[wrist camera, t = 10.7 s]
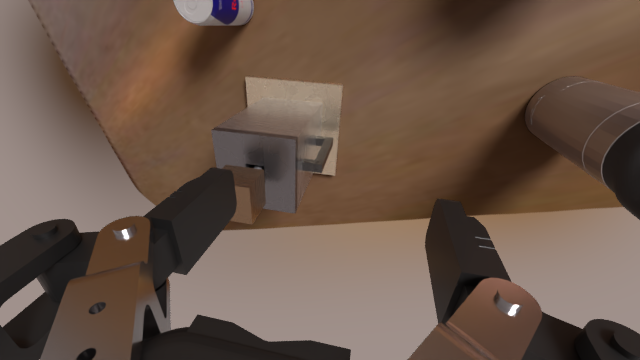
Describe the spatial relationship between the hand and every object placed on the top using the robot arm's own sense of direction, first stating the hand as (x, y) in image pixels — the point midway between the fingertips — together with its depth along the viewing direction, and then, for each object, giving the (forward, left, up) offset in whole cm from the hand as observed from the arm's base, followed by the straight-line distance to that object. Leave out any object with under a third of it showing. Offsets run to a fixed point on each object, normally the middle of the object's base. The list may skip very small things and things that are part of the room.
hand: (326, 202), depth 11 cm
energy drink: (+20, -8, -38) cm, 44 cm away
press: (+11, +10, -38) cm, 41 cm away
